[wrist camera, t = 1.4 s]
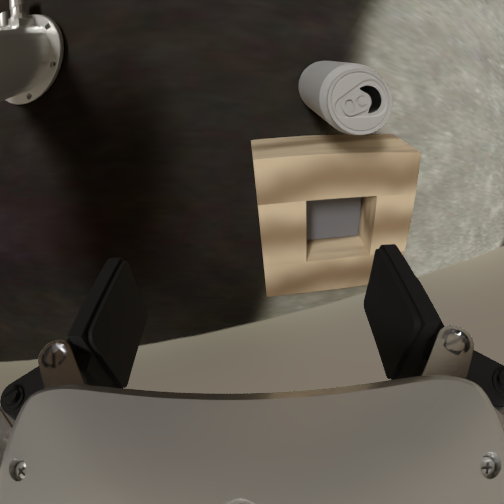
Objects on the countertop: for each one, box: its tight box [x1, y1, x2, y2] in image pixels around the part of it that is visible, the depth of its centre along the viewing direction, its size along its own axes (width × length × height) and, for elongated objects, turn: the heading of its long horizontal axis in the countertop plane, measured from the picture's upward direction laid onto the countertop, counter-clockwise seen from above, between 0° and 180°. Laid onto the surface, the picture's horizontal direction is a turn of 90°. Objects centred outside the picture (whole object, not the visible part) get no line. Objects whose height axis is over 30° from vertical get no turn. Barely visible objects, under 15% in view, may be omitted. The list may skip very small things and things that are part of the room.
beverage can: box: [299, 61, 392, 135], centre depth 26 cm, size 6×6×12 cm
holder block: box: [251, 134, 421, 297], centre depth 36 cm, size 18×18×7 cm
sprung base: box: [306, 197, 361, 240], centre depth 37 cm, size 7×7×1 cm
